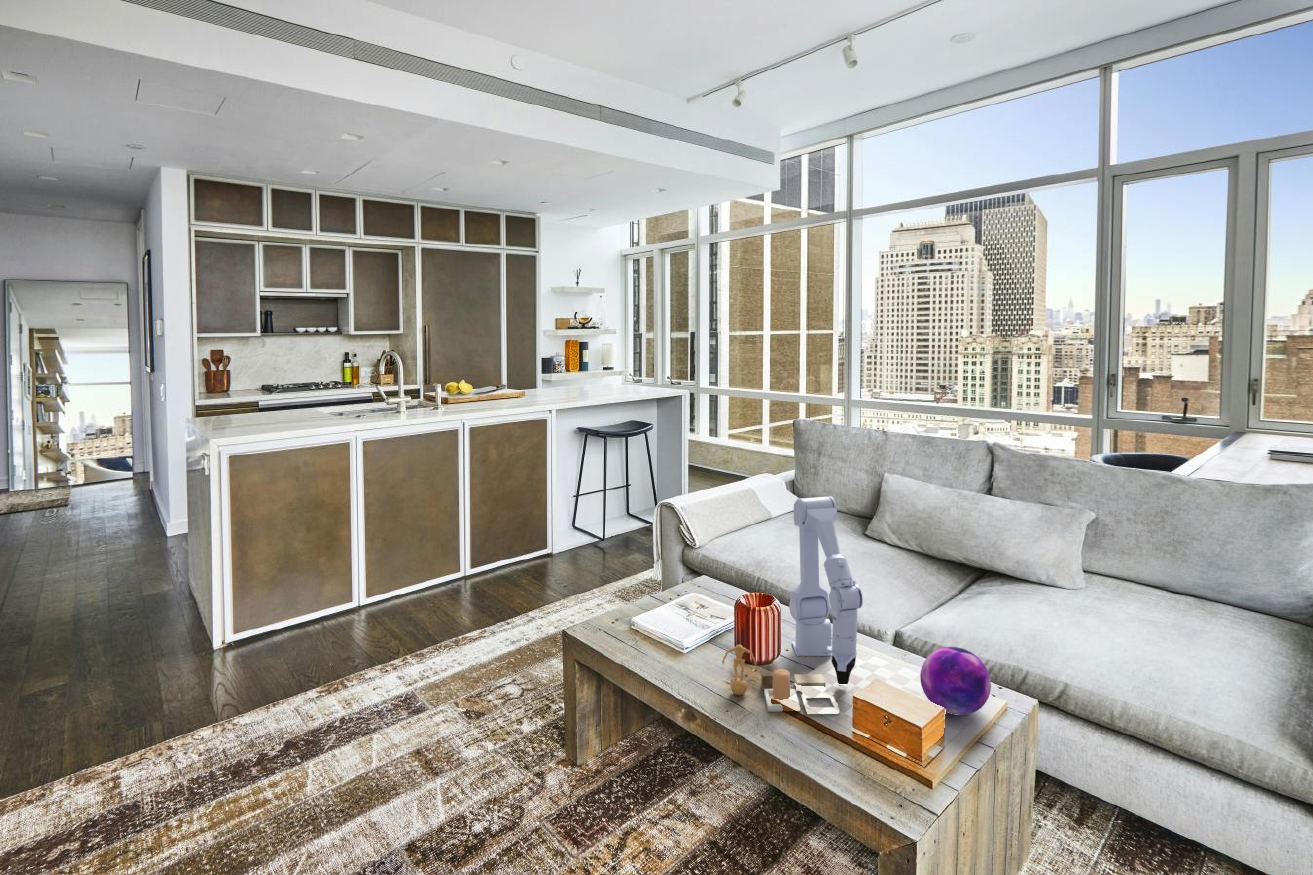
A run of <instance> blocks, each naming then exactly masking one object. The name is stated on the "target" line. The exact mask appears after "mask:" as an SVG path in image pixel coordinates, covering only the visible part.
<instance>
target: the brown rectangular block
mask: <svg viewBox="0 0 1313 875" xmlns="http://www.w3.org/2000/svg"><path fill="white" fill-rule="evenodd" d="M760 685H761V689H762V692H764V689H773V671H772V670H761V684H760Z"/></svg>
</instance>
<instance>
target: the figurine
mask: <svg viewBox="0 0 1313 875" xmlns="http://www.w3.org/2000/svg"><path fill="white" fill-rule="evenodd" d="M732 652H734V655H735V657H736V658H734V659H733V669H734V673H735V675H734V679H733V680H732V681H731V683H730V689H731V690H730V691H731V692H732V693H733V694H734V695H736V696H742V695H744V694H746V692H747V690H748V684H747V682H746V680H744V672H745V671H744V670H745V668H746V667H745V661H746V660H745V658H743V656H744V653H748V654H750V656H751V658H752V660H753V661H754V662H753V664H754V666H757V661H756V659H755V657H754V653H753V652H752V651H751V650H749V649H747V648H745V647H743V645H742V644H736V646H734V647H732V648H730V649H728V650H726V652H725V654H724V656H723V659H722V661H721V664H722V665H724V663H725V661H726V659H727V656H728V654H729V653H732ZM739 666H740V668H741V670H740V672H741V673H740V677H738V667H739Z"/></svg>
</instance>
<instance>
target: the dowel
mask: <svg viewBox="0 0 1313 875" xmlns="http://www.w3.org/2000/svg"><path fill="white" fill-rule="evenodd" d="M772 674H773V698H774V699H779V700H783V699H788V698H789V697H790V689H791V675H790V674H791V673H790V671H789V670H787V669H783V668H778V669H775V670H773V671H772Z"/></svg>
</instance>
